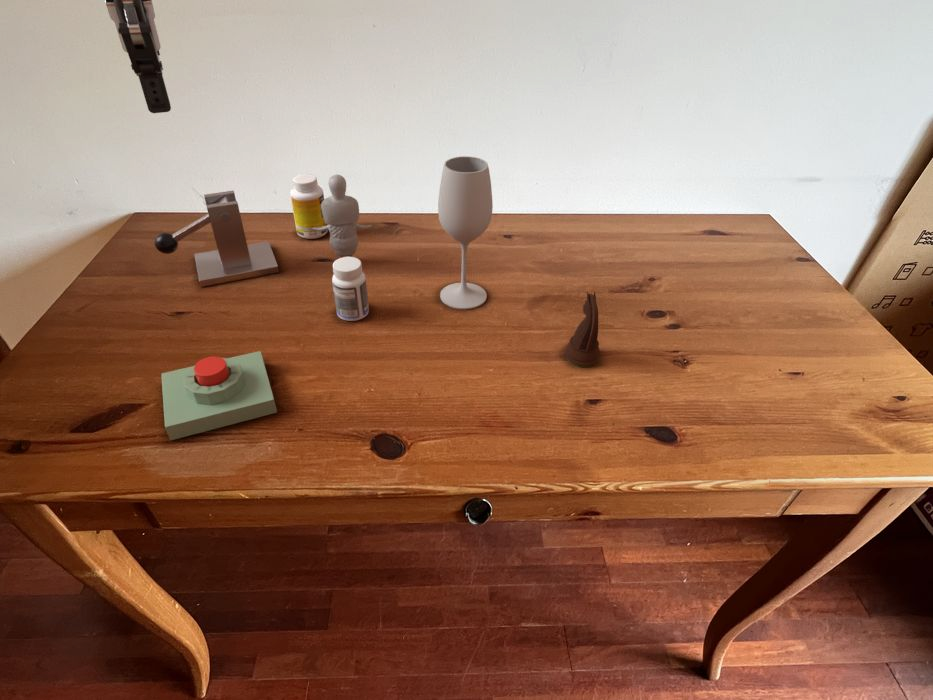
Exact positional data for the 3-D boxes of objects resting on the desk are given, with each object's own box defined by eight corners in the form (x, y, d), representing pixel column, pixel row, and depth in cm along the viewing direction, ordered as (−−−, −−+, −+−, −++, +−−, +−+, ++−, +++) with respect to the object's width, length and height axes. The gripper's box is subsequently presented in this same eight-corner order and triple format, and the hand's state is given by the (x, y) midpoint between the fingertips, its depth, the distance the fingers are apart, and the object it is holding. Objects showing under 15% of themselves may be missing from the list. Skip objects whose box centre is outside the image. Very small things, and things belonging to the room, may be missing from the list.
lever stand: (200, 287, 94) (180, 217, 87) (196, 260, 101) (176, 193, 93) (279, 272, 98) (265, 204, 91) (269, 247, 105) (256, 181, 97)
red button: (198, 390, 70) (195, 378, 69) (196, 371, 73) (192, 360, 72) (231, 382, 72) (227, 371, 71) (227, 364, 74) (224, 353, 73)
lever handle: (164, 261, 92) (150, 245, 90) (164, 251, 95) (149, 236, 93) (238, 217, 93) (225, 201, 91) (236, 209, 95) (223, 192, 93)
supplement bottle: (329, 238, 107) (321, 183, 101) (297, 241, 106) (287, 186, 100) (327, 224, 112) (320, 171, 105) (296, 227, 111) (287, 173, 104)
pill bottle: (356, 300, 92) (350, 251, 87) (375, 313, 90) (371, 263, 84) (330, 312, 90) (323, 262, 84) (349, 326, 87) (342, 276, 82)
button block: (170, 440, 69) (160, 415, 67) (166, 386, 76) (156, 362, 74) (277, 412, 73) (271, 388, 71) (263, 363, 80) (257, 339, 78)
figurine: (374, 253, 103) (367, 169, 94) (375, 265, 100) (368, 179, 91) (318, 256, 102) (305, 171, 93) (317, 268, 99) (303, 181, 90)
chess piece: (593, 345, 85) (605, 285, 78) (603, 369, 81) (616, 307, 74) (561, 347, 84) (570, 286, 78) (569, 370, 80) (580, 308, 74)
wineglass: (434, 307, 91) (432, 173, 78) (444, 280, 97) (443, 152, 84) (484, 312, 90) (490, 178, 77) (490, 285, 96) (497, 156, 83)
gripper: (61, -95, 57) (122, 96, 68) (48, -85, 48) (121, 134, 59) (147, -94, 60) (193, 90, 70) (151, -85, 50) (203, 126, 61)
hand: (160, 110), depth 65 cm, fingers closed
